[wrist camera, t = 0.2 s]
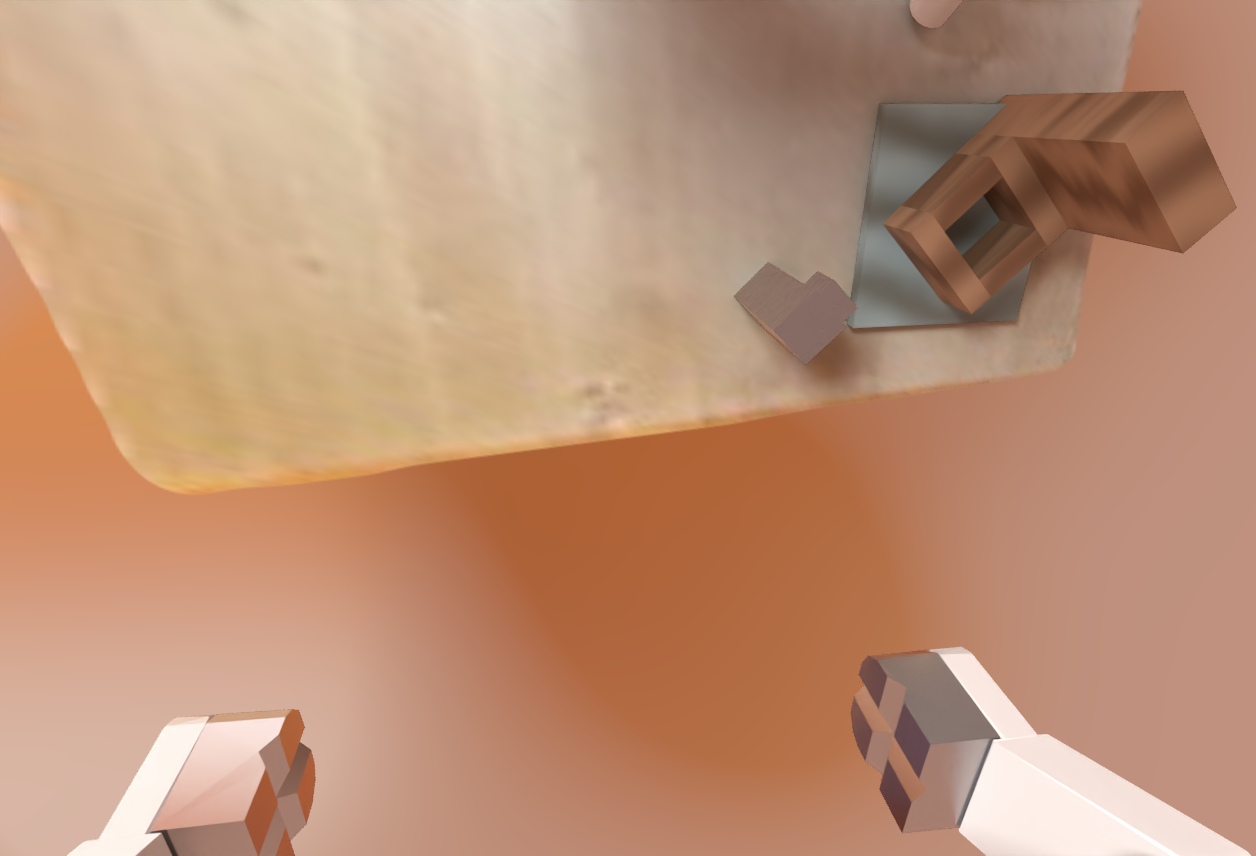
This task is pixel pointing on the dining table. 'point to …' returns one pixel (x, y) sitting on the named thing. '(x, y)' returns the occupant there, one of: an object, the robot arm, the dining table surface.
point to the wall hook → (932, 11)
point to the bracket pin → (797, 309)
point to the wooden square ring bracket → (1021, 196)
